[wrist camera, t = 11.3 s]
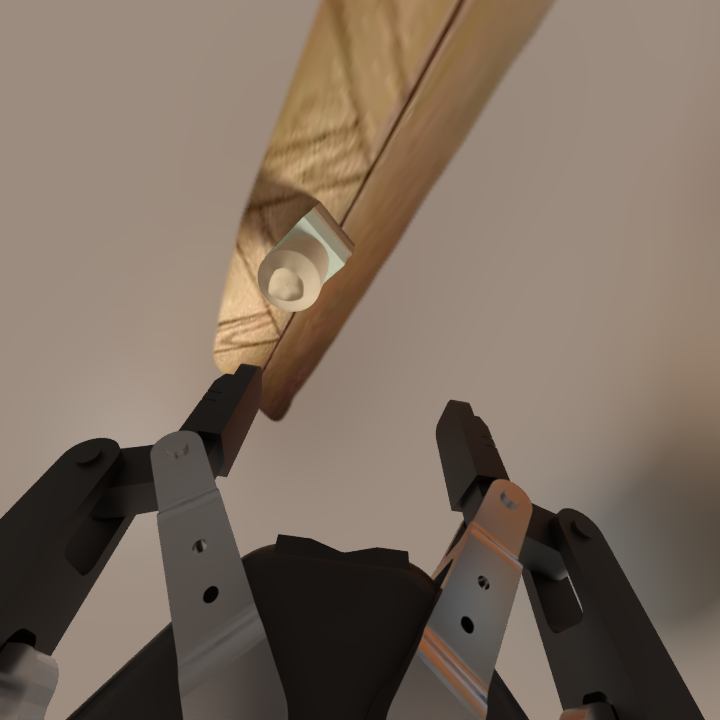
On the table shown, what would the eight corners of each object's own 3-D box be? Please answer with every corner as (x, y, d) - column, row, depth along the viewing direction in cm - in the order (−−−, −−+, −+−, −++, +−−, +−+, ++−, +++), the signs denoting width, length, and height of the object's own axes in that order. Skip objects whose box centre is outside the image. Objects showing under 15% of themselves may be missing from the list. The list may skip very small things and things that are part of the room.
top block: (312, 209, 35) (303, 216, 31) (348, 252, 37) (345, 264, 33) (276, 246, 37) (264, 257, 33) (313, 284, 40) (306, 298, 36)
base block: (320, 201, 39) (314, 206, 35) (354, 244, 42) (352, 254, 37) (285, 236, 41) (275, 245, 37) (319, 275, 44) (313, 286, 40)
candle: (290, 288, 35) (267, 323, 26) (273, 240, 32) (241, 262, 23) (335, 278, 34) (326, 311, 26) (321, 228, 31) (306, 246, 23)
